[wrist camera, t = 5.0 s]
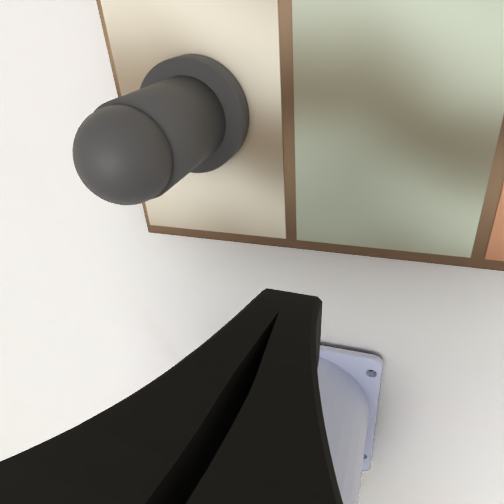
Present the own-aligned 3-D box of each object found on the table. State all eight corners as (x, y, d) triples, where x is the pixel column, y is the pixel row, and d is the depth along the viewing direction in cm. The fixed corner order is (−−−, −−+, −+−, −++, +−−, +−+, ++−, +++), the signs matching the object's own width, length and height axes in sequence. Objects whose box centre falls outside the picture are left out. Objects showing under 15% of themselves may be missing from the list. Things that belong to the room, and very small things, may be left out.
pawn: (253, 166, 18) (178, 249, 12) (161, 162, 19) (56, 234, 14) (244, 51, 15) (148, 90, 10) (140, 55, 17) (6, 91, 11)
